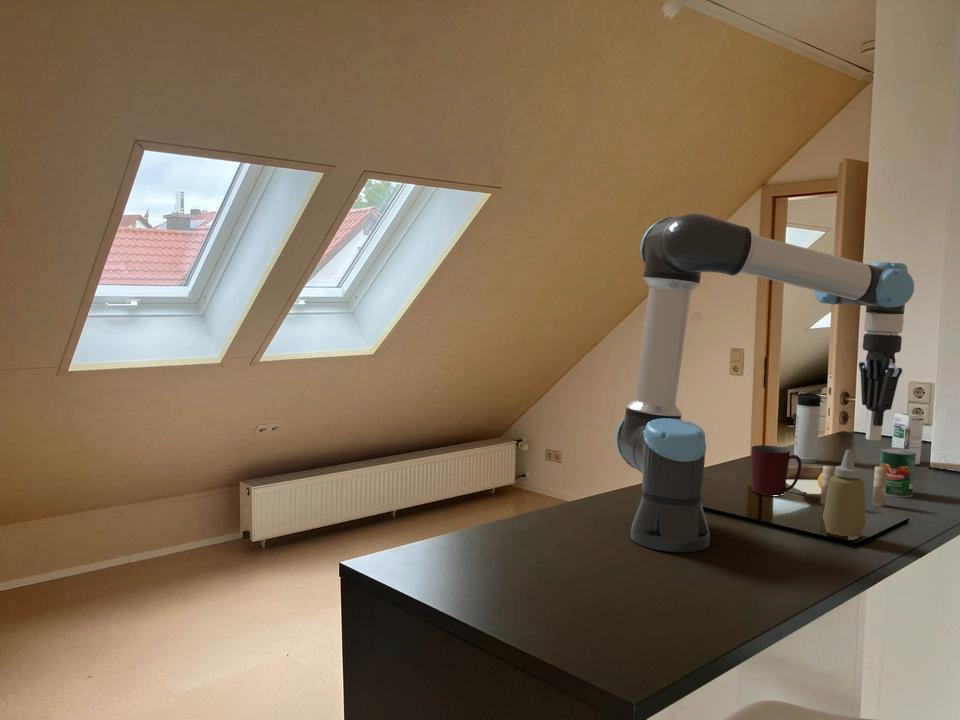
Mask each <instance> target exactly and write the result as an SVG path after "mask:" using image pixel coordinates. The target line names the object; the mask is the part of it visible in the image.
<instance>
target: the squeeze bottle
mask: <svg viewBox="0 0 960 720" xmlns="http://www.w3.org/2000/svg"><path fill="white" fill-rule="evenodd" d="M854 461H855V460H854V455H853V450H851V449H846V450H845V452H844V455H843V457H842V462H841V464H840V465H837V466H834V467H835V475H836V476H833V477H831V478H830V480H829V485H828V491H827V496H826V502H825V506H824V509H823V513H822V519H823V524H824V527H825V531H826V533H827V532H828V533H831V534H834V535H839V536H852V537H854V536H859V535H860V536H861V535H862V532H863V530H864V527H865V526H866V494H865V492H866V491H865V481H864V480H863V479H861V478H860V477H861V469H860V468H858V467H855V462H854Z"/></svg>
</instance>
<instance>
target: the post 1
mask: <svg viewBox="0 0 960 720" xmlns="http://www.w3.org/2000/svg"><path fill="white" fill-rule="evenodd" d="M822 466H823V474H822V489H821V495H820V503H825V502H826V496H827V491H828V485H829V480H830V478H831V477H833V476H835V467H836V466H831V465H822Z"/></svg>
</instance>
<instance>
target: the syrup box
mask: <svg viewBox="0 0 960 720" xmlns="http://www.w3.org/2000/svg"><path fill="white" fill-rule="evenodd" d="M924 418H925V416H921V415H917V414H911V413H906V412H898V413H894V417H893V427H892V441H891V447H896V448H904V449H910V450H913V451H916V460H915V465H920V462H921V451H922V441H923V431H924V430H923V429H924V421H925V420H924Z"/></svg>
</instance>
